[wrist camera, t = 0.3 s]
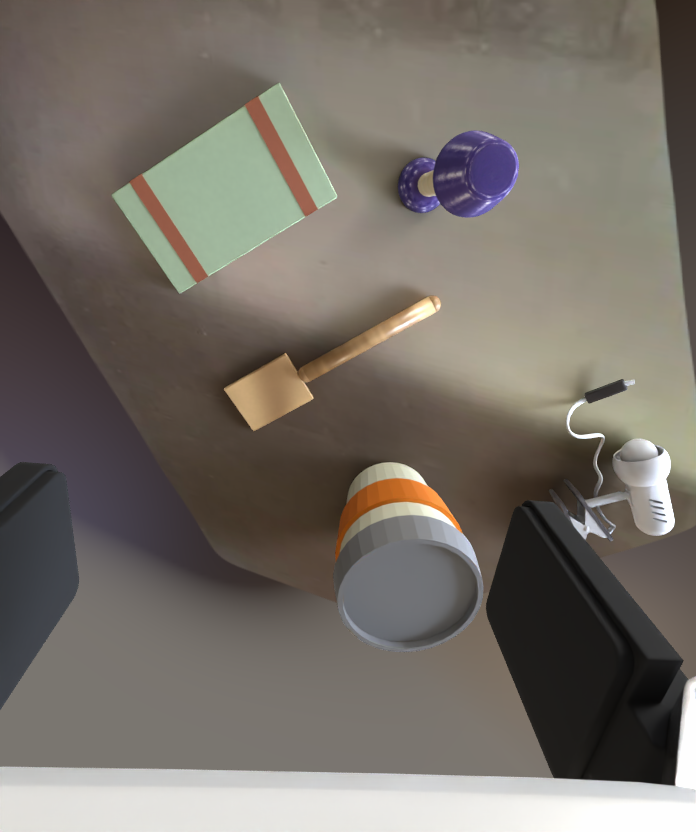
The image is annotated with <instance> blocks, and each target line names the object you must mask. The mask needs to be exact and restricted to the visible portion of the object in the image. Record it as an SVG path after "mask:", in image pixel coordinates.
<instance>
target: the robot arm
mask: <svg viewBox="0 0 696 832" xmlns="http://www.w3.org/2000/svg"><path fill="white" fill-rule="evenodd" d="M78 584H79V576H78V567H77V559H76V551H75V544H74V536H73V528H72V520H71V513H70V505H69V497H68V489H67V481H66V477H65V475H64V474H63V473H62V472H58V471H57V469H56V467H55V466H54V465H52V464H40V463H27V462H20V463H18V464H16V465H15V466H13V467H12V468H11V469H10V470H9V471H7V472H6V473H5V474H3V475H2V476H1V477H0V709H1V708H2V707H3V705H4V703H5V702H6V700H7V699H8V697H9V696H10V694H11V693H12V691H13V690H14V688H15V687H16V685H17V684H18V682H19V681H20V679H21V678H22V676H23V675H24V673H25V671H26V670H27V668H28V667H29V665H30V664H31V662H32V661H33V659H34V658H35V656H36V655H37V653H38V652H39V650H40V649H41V647H42V646H43V644H44V643H45V641H46V639H47V638H48V636H49V635H50V633H51V632H52V630H53V629H54V627H55V626H56V624H57V623H58V621H59V620H60V618H61V617H62V615H63V614H64V612H65V611H66V609H67V608H68V606H69V604H70V603H71V601H72V600H73V598H74V596H75V594H76V592H77V589H78ZM486 611H487V617H488V620H489V622H490V625H491V627H492V630H493V632H494V635H495V637H496V639H497V642H498V644H499V647H500V649H501V652H502V654H503V656H504V659H505V661H506V664H507V666H508V668H509V671H510V673H511V676H512V678H513V681H514V683H515V685H516V688H517V690H518V693H519V695H520V698H521V700H522V703H523V705H524V707H525V710H526V712H527V715H528V717H529V720H530V722H531V724H532V727H533V729H534V732H535V734H536V737H537V739H538V741H539V744H540V746H541V749H542V751H543V754H544V756H545V758H546V761H547V763H548V766H549V768H550V770H551V773H552V775H553V777H554V778H532V777H495V776H494V777H493V776H456V775H454V776H453V775H419V774H416V775H415V774H380V773H336V772H335V773H333V772H289V771H238V770H188V769H187V770H186V769H125V768H123V769H122V768H119V769H118V768H56V767H52V768H51V767H0V832H696V676H695V677H693V678H691V679H690V680H688V678H687V677H686V676H685V675H684V673H683V672H682V671H681V670H680V667H681V665H682V663H683V659H682V658H681V657H680V656H679V655H678V653H677V652H676V651H675V650H674V648H673V647H672V646H671V645H670V644H669V642H668V641H667V640H666V639H665V638H664V636H663V635H662V634H661V632H660V631H659V630H658V629H657V628H656V626H655V625H654V624H653V623H652V621H651V620H650V619H649V618H648V616H647V615H646V614H645V613H644V612H643V610H642V609H641V608H640V607H639V605H638V604H637V603H636V602H635V601H634V599H633V598H632V597H631V596H630V594H629V593H628V592H627V591H626V590H625V588H624V587H623V586H622V585H621V583H620V582H619V581H618V580H617V579H616V577H615V576H614V575H613V574H612V573H611V571H610V570H609V569H608V567H607V566H606V565H605V564H604V563H603V561H602V560H601V559H600V558H599V556H598V555H597V554H596V553H595V551H594V550H593V549H592V548H591V547H590V545H589V544H588V543H587V542H586V540H585V539H584V538H583V537H582V535H581V534H580V533H579V532H578V531H577V529H576V528H575V527H574V526H573V524H572V523H571V522H570V521H569V520H568V518H567V517H566V516H565V515H564V513H563V512H562V511H561V510H560V509H559V507H558V506H557V505H556V504H555V503H553V502H543V501H530V500H527V501H525V502H524V503H523V504H522V506H518V507H516V508H515V509H514V512H513V515H512V518H511V521H510V525H509V528H508V531H507V535H506V538H505V542H504V545H503V548H502V552H501V555H500V558H499V562H498V565H497V568H496V572H495V575H494V578H493V582H492V585H491V589H490V592H489V596H488V599H487V603H486Z"/></svg>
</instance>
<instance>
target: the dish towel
mask: <svg viewBox="0 0 696 832" xmlns="http://www.w3.org/2000/svg"><path fill="white" fill-rule="evenodd" d="M112 197H113V199H114V200H115V201H116V203H117V204H118V206H119V207H120V209H121V210H122V212H123V213H124V215H125V216H126V217H127V219H128V220H129V222H130V223H131V225H132V226H133V228H134V229H135V230H136V232H137V233H138V235H139V236H140V238H141V239H142V241H143V242H144V244H145V245H146V246H147V248H148V249H149V251H150V252H151V254H152V255H153V257H154V258H155V259H156V261H157V262H158V264H159V265H160V267H161V268H162V270H163V271H164V272H165V274H166V275H167V277H168V278H169V280H170V281H171V283H172V284H173V286H174V287H175V288H176V290H177V291H178V293H182V292H184V291H185V290H187V289H188V288H190V287H192V286H193V285H195V284H197V283H198V282H200V281H202V280H203V279H205V278H206V277H208V276H210V275H211V274H213V273H215V272H216V271H218V270H220V269H221V268H223V267H224V266H226V265H228V264H229V263H231V262H233V261H234V260H236V259H238V258H239V257H241V256H242V255H244V254H246V253H247V252H249V251H251V250H252V249H254V248H256V247H257V246H259V245H260V244H262V243H264V242H265V241H267V240H269V239H270V238H272V237H273V236H275V235H277V234H278V233H280V232H282V231H283V230H285V229H287V228H288V227H290V226H291V225H293V224H295V223H296V222H298V221H300V220H301V219H303V218H305V217H306V216H308V215H309V214H311V213H313V212H314V211H316V210H318V209H319V208H321V207H323V206H324V205H326V204H327V203H329V202H331V201H332V200H334V199H336V198H337V195H336V193H335V191H334V189H333V187H332V185H331V183H330V181H329V179H328V177H327V175H326V173H325V171H324V169H323V167H322V165H321V163H320V161H319V159H318V157H317V155H316V153H315V151H314V149H313V147H312V146H311V144H310V142H309V140H308V138H307V136H306V134H305V132H304V130H303V128H302V126H301V124H300V122H299V120H298V118H297V116H296V114H295V112H294V110H293V108H292V106H291V104H290V102H289V100H288V98H287V96H286V94H285V93H284V91H283V89H282V87H281V85H280V83H278V84H276V85H275V86H273V87H272V88H270V89H269V90H267V91H266V92H264V93H263V94H261V95H260V96H257V97H255V98H254V99H252V100H251V101H249V102H248V103H246V104H245V106H243V107H242V108H240V109H239V110H237V111H236V112H234V113H233V114H231V115H230V116H228V117H227V118H225V119H224V120H222V121H221V122H219V123H218V124H216V125H215V126H213V127H212V128H210V129H209V130H207V131H206V132H204V133H203V134H201V135H200V136H198V137H197V138H195V139H194V140H192V141H191V142H189V143H188V144H186V145H185V146H183V147H182V148H180V149H179V150H177V151H176V152H174V153H173V154H171V155H170V156H168V157H167V158H165V159H164V160H162V161H161V162H159V163H158V164H156V165H155V166H153V167H152V168H150V169H149V170H147V171H146V172H144V173H143V174H140V175H139V176H137V177H136V178H134V179H133V180H131V181H130V182H129V183H128V184H126V185H125V186H123V187H122V188H120V189H119V190H117V191H116V192H114V193H113V194H112Z"/></svg>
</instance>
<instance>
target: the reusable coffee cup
mask: <svg viewBox="0 0 696 832" xmlns="http://www.w3.org/2000/svg"><path fill="white" fill-rule="evenodd" d="M335 554H336V563H335V568H334V573H333V579H334V588H335V594H336V600H337V605H338V610H339V613H340V616H341V619H342V621H343V623H344V624H345V626H346V627H347V629H348V630H349V631H350V632H351V633H352V634H353V635H354V636H355V637H357V638H358V639H360V640H361V641H363V642H364V643H366V644H368V645H371V646H373V647H376V648H378V649H383V650H388V651H396V652H410V651H420V650H424V649H429V648H432V647H435V646H437V645H440V644H443V643H444V642H446V641H448V640H450V639H452V638H453V637H455V636H456V635H458V634H459V633H460V632H462V631H463V630H464V629H465V628H466V627H467V626H468V625H469V624H470V622H471V621H472V620H473V619H474V617H475V615H476V614H477V612H478V610H479V608H480V605H481V602H482V599H483V582H482V577H481V573H480V570H479V566H478V563H477V559H476V555H475V553H474V550H473V548H472V546H471V544H470V542H469V541H468V540H467V539H466V537H465V536H464V535H463V533H462V531H461V529H460V526H459V524H458V523H457V521H456V520H455V518H454V517H453V515H452V514H451V512H450V511H449V509H448V508H447V507H446V505H445V504H444V502H443V501H442V499H441V498H440V497H439V496H438V494H437V493H436V492H435V491H433V490H432V489H431V488H430V487H428V486H427V484H426V483H425V481H424V480H423V478H422V477H421V476H420V475H419V473H417V472H416V471H415V470H414V469H412V468H410V467H408V466H407V465H403V464H400V463H393V462H387V463H380V464H376V465H373V466H371V467H369V468H367V469H365V470H364V471H362V472H361V473H360V474H359V475H358V476H357V477H356V478H355V479H354V480H353V482H352V483H351V486H350V488H349V491H348V496H347V503H346V506H345V507H344V510H343V512H342V515H341V519H340V525H339V531H338V538H337V545H336V552H335Z"/></svg>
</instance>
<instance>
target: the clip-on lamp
mask: <svg viewBox="0 0 696 832" xmlns="http://www.w3.org/2000/svg"><path fill="white" fill-rule="evenodd" d="M634 383H635V380H634V379H633V380H629V381H624V380H623V379H621V380H618V381H616V382H613V383H610V384H608V385H605V386H603V387H600V388H597V389H595V390H592V391H589V392H587V393H585V394H584V396H585V397H584V398H582V399H580V400H579V401H577V402H576V403H575V404H574V405H573V406H572V407H571V408H570V410H569V412H568V414H567V418H566V427H567V431H568V432H569V434H570V435H572V436H573V437H575V438H579V439H587V438H594V437H602V438H601V441H600V444H599V446H598V448H597V451H596V453H595V456H594V460H593V466H594V469H595V471H596V472H597V474H598V476H599V480H598V482H597V484H596V486H595V489H594V498H592V499H588V500H584V498H583V497H582V495H581V494H580V493H579V491H578V490H577V489H576V488H575V487H574V486H573V485H572V484H571V483H570V482H569V481H568V480H567V479H565V480H563V481H564V482H565V484H566V485H567V487H568V488H569V489H570V491H571V492H572V493H573V494H574V496H575V497H576V498H577V515H574V514H572V513H571V512H569V511H568V510H567V509H566V507H565V505H564V503H563V502H562V501H561V499H560V498H559V497H558V496H557V494H556V493H555V492H554V491H553V490H552V489H551V490H549V492H550V494H551V496H552V498H553V499H554V501H555V502H556V504H557V506H558V507H559V509H560V510H561V511H562V512H563V513H564V515H565V516H566V517H567V518H568V520H569V521H570V522H571V523H572V524H573V526H574V527H575V528H576V529H577V531H578V532H579V533H580V534H581V535H582V537H583V538H584V539H585V540H586V536H587V533H590V532H592V533H595V534H598V535H599V536H600V537H603V538H604V537H606V538H607V539H608V540H609V541H612V540H613V538H612V536H611V535H610V534H611V533H612V532H613V530H614V529H615V527H616V526H615V525H614V524H612V523H611V522H610V521H608V520H607V519H606V518H605V516H604V515H603V513H602V512H601V510H600V507H599V506H601V505H605V504H609V503H613V502H617V501H621V500H625V499H627V500H628V503H629V504H630V505H631V509H632V513H633V517H634V521H635V524H636V526H637V527H638V528H639V529H640V530H641V531H643V532H644V533H646V534H649V535H654V536H658V535H663V534H666V533H667V532H669V531H670V530H671V529H672V528H673V526H674V521H675V520H674V516H673V511H672V506H671V501H670V497H669V492H668V487H667V482H666V477H667V476H668V474H669V471H670V458H669V455H668V453H667V452H666V451H665V449H664V448H663V447H661V446H658V445H653V444H652V443H651V442H649V441H647V440H644V439H633V440H630V441H628V442H626V443H625V444H624V445H623V447H622V448H621V450H619V451H617V452H616V453H615V454H614V456H613V463H612V464H613V469H614V471H615V473H616V474H617V476H618V477H619V478H620V479H621V480H622V481H623V482H624V483H625V486H626V489H625V492H621V491H619V492H615V493H611V494H608V495H604V496H600V497H598V491H599V488H600V486H601V484H602V482H603V476H602V474H601V472H600V471H599V469H598V467H597V457H598V454H599V452H600V450H601V448H602V446H603V444H604V440H605V438H604V436H603V434H600V433H594V434H587V435H577V434H574V433H573V432H572V431H571V430H570V427H569V419H570V416H571V414H572V412H573V411H574V409H575V408H576V407H577V406H579V405H580V404H582V403H584V402H586V401H588V403H592V402H595V401H598V400H600V399H603V398H606V397H609V396H612V395H614V394H617V393H620V392H623V391H625V390H627V386H628V385H632V384H634ZM593 507H596V508H597V511H598V513H599V514H600V516H601V517H602V518H603V520H604V521H605V522H607V523H608V524H610V525H611V526H610V527H609V529H608V530H607V529H606V528H605V527H604V525H603V524H602V523H601V521H600V520H599V519H598V518H597V516H596V515H595V514H594V512H593V511H592V510H591V508H593Z"/></svg>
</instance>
